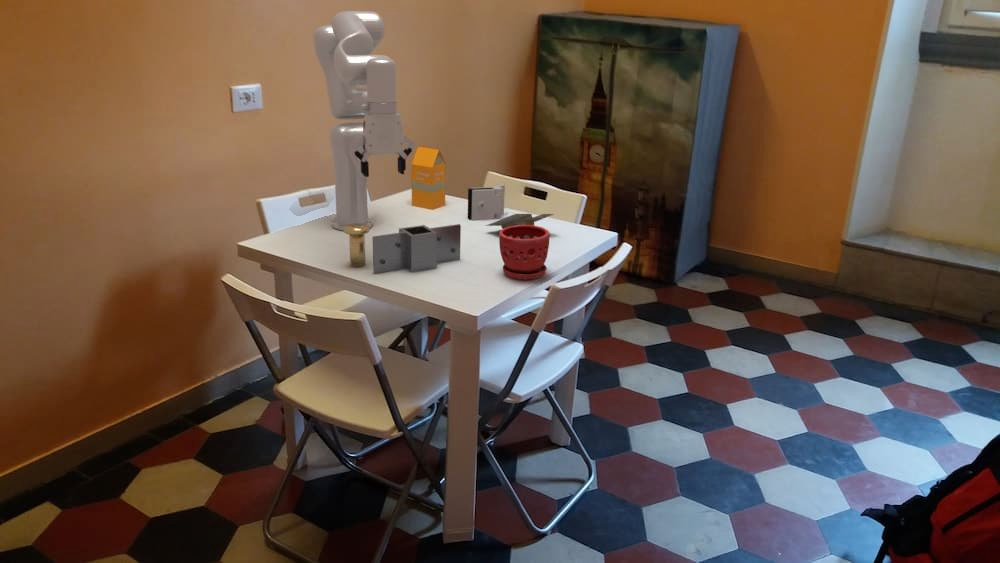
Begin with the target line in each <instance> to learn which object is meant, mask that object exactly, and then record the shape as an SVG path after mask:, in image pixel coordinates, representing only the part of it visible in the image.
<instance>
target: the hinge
mask: <svg viewBox="0 0 1000 563" xmlns="http://www.w3.org/2000/svg"><path fill="white" fill-rule="evenodd" d="M505 191H506V184H500V185H497V186H488V187H487V186H486V187H470V188H467V220H468V221H472V222H473V221H490V220H491V221H492V220H501V219H502V216H503V215H504V214H505V195H506V194H505Z"/></svg>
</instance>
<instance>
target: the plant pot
mask: <svg viewBox="0 0 1000 563" xmlns="http://www.w3.org/2000/svg"><path fill="white" fill-rule="evenodd" d="M525 235H528V236H527V237H528V238H526V237H524V236H525ZM498 236H499V237H498V240H499V241H498V243H499V252H500V256H501V259H502V262H503V263H504V264H503V265H502V271H503V273H504V274H505V275H506V276H508V277H510V278H513V279H517V280H522V281H524V280H533V279H537V278H539V277H542V276H544V275H545V273H546V272H547V270H548V269H547V266H546V265H545V262H546V261H547V258H548V254H549V253H548V252H549V247H550V232H549V230H548V229H546V228H544V227H542V226H538V225H534V226H533V225H516V226H510V227H506V228H504V229H502V228H501V230H500V231H499V234H498Z"/></svg>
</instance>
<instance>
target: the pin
mask: <svg viewBox="0 0 1000 563" xmlns="http://www.w3.org/2000/svg"><path fill="white" fill-rule="evenodd" d="M343 232H344V233H345V234H347V235H348V236H349V238H348V239H349V260H350V261H349V262H350V264H349V265H350V267H351V268H363V267H366V239H365V235H366V234H368V233H369V232H370V228H369V225H367V224H362V223H352V224H347V225H345V226H344V231H343Z"/></svg>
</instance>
